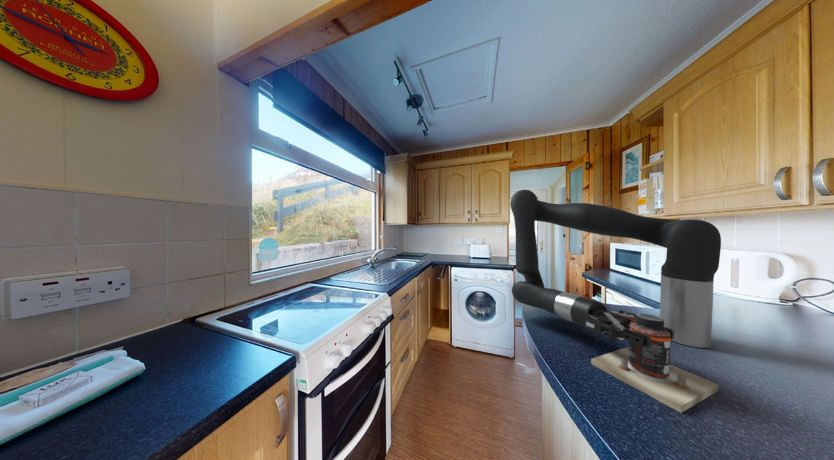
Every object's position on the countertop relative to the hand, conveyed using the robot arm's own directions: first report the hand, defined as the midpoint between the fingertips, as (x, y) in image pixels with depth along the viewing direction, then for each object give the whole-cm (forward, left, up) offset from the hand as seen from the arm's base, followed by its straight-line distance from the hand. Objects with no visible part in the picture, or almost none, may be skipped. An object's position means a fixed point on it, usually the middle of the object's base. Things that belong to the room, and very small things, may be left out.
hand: (662, 339), depth 45 cm
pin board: (0, -2, -9) cm, 9 cm away
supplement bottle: (0, -2, -8) cm, 8 cm away
